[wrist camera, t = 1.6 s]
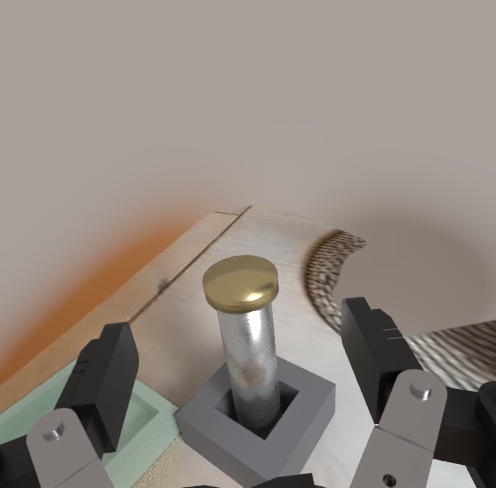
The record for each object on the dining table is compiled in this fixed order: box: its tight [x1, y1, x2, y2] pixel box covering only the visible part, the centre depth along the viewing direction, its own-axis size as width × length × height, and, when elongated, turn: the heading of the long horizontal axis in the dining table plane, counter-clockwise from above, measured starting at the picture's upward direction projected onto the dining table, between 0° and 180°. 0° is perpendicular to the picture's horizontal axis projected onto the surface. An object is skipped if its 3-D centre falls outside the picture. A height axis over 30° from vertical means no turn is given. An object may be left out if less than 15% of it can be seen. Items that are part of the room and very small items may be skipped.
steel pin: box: [203, 255, 282, 441], centre depth 30 cm, size 5×5×17 cm
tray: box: [0, 358, 181, 488], centre depth 33 cm, size 14×14×3 cm
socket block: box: [176, 356, 336, 488], centre depth 33 cm, size 10×10×4 cm
